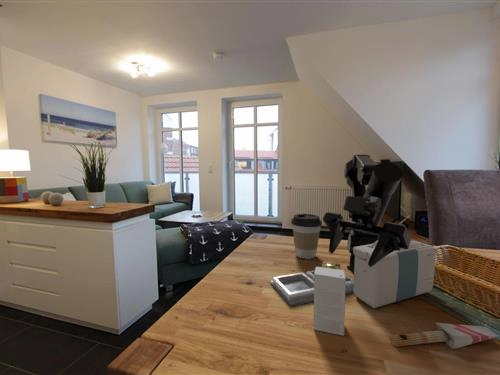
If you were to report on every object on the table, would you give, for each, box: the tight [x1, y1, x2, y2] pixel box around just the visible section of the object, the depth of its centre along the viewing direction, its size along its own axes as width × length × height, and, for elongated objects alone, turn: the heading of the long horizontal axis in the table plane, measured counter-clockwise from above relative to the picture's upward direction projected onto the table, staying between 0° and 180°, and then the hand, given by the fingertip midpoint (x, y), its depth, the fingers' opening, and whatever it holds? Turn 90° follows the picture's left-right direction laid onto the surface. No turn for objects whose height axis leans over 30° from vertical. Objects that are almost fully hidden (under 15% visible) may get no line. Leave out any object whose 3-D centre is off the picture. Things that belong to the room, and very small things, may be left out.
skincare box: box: [313, 266, 346, 337], centre depth 50 cm, size 6×4×12 cm
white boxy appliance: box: [353, 215, 436, 309], centre depth 61 cm, size 21×8×20 cm, turn 112°
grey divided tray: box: [269, 260, 354, 307], centre depth 66 cm, size 21×12×6 cm, turn 109°
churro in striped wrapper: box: [389, 322, 499, 350], centre depth 46 cm, size 4×3×20 cm
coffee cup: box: [290, 213, 323, 260], centre depth 89 cm, size 11×11×15 cm
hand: (348, 259), depth 53 cm, fingers open, 9 cm apart
